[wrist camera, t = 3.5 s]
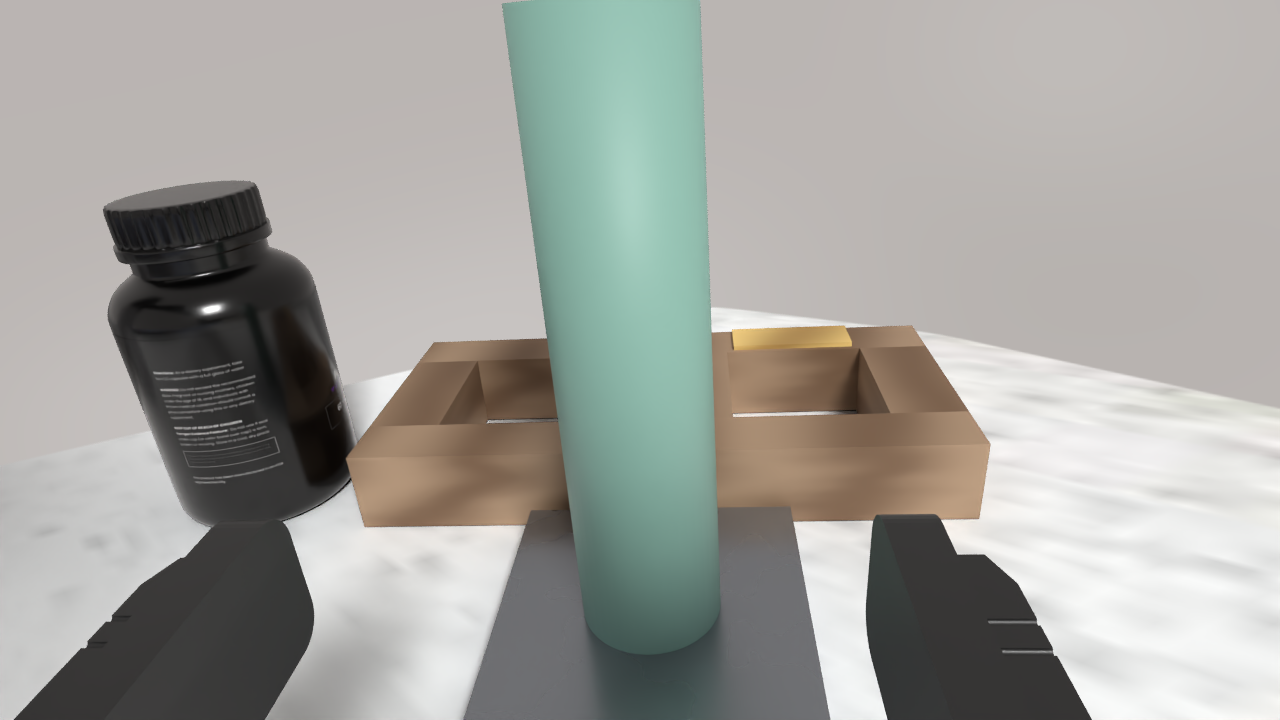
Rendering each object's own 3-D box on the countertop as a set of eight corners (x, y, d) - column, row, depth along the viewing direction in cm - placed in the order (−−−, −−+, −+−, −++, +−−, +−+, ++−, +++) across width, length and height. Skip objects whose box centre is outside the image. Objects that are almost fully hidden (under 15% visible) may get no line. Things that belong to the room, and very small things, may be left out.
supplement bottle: (397, 452, 33) (329, 173, 28) (274, 552, 27) (161, 224, 22) (278, 430, 35) (196, 171, 30) (143, 516, 30) (15, 215, 25)
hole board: (364, 527, 28) (344, 453, 27) (445, 398, 37) (433, 338, 36) (979, 518, 26) (991, 439, 25) (906, 385, 35) (912, 321, 34)
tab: (465, 762, 19) (458, 734, 18) (534, 533, 27) (531, 510, 27) (832, 768, 18) (833, 739, 18) (789, 529, 26) (790, 506, 26)
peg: (574, 655, 20) (479, 4, 14) (592, 556, 24) (524, 3, 17) (722, 654, 20) (699, -14, 13) (718, 555, 24) (699, -11, 17)
